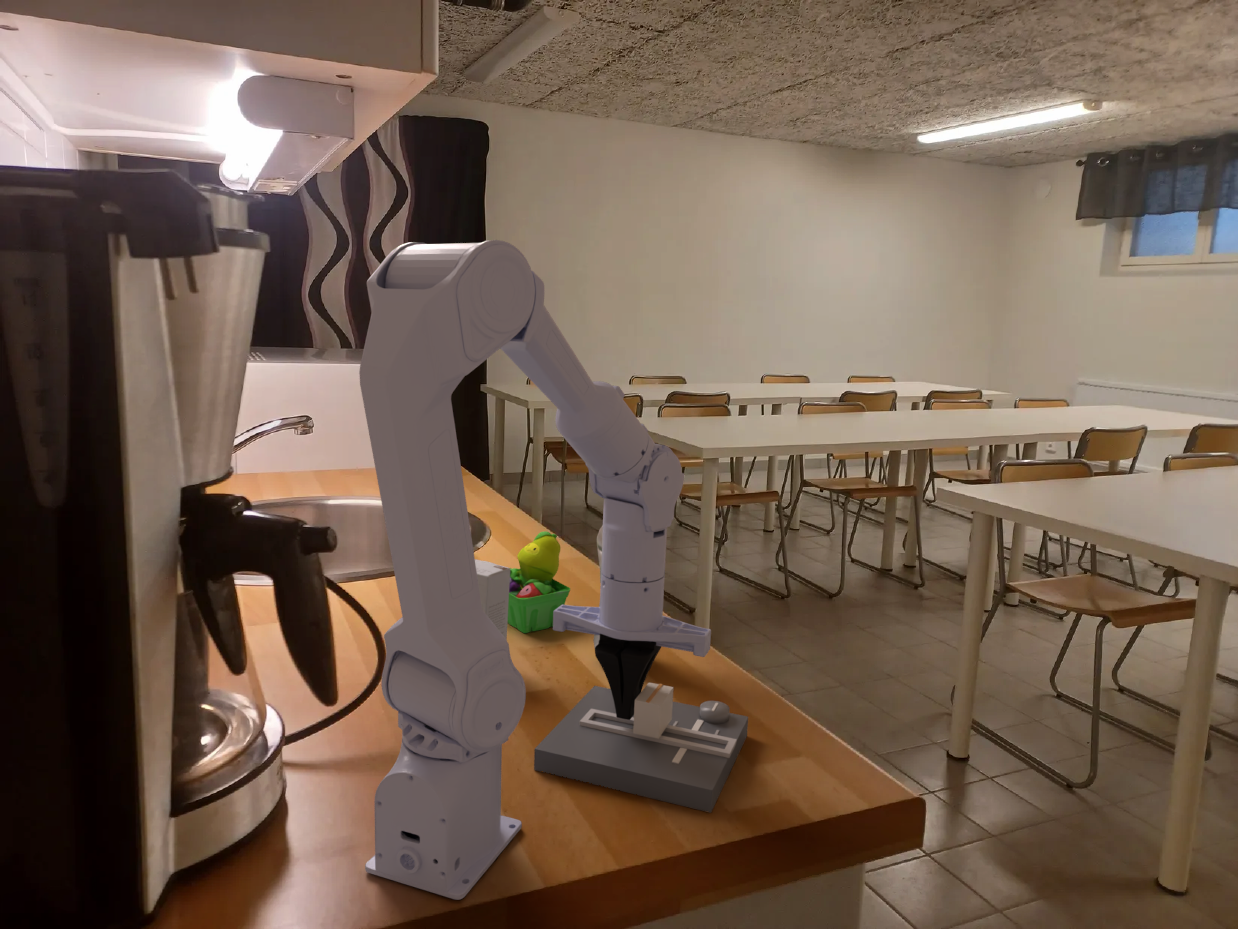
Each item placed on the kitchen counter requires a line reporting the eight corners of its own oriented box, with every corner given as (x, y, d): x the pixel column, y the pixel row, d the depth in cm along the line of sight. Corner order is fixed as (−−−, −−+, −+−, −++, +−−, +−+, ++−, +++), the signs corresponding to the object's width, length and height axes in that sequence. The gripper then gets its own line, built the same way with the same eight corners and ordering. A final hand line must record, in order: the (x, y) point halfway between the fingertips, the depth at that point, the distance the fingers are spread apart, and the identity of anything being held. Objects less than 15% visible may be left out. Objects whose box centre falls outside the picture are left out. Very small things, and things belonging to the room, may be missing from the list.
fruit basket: (476, 611, 113) (477, 528, 111) (533, 600, 119) (535, 520, 117) (520, 639, 105) (521, 550, 103) (580, 626, 110) (583, 540, 108)
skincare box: (440, 670, 95) (440, 565, 93) (466, 657, 99) (467, 555, 96) (484, 684, 92) (485, 576, 90) (509, 670, 96) (511, 565, 94)
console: (712, 813, 70) (714, 778, 69) (534, 769, 75) (534, 737, 75) (747, 736, 83) (750, 706, 82) (593, 703, 88) (594, 675, 88)
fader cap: (658, 742, 76) (660, 704, 76) (633, 737, 77) (634, 698, 76) (671, 723, 80) (673, 686, 79) (647, 718, 81) (648, 681, 80)
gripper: (722, 572, 78) (713, 711, 81) (575, 551, 83) (571, 682, 85) (702, 595, 72) (693, 745, 74) (544, 571, 76) (541, 712, 79)
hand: (626, 714), depth 79 cm, fingers closed
